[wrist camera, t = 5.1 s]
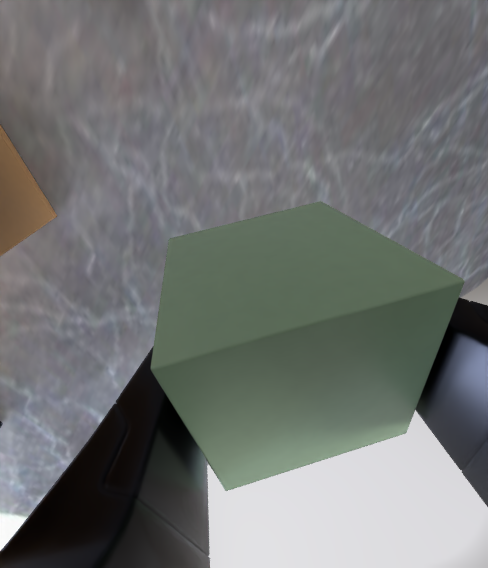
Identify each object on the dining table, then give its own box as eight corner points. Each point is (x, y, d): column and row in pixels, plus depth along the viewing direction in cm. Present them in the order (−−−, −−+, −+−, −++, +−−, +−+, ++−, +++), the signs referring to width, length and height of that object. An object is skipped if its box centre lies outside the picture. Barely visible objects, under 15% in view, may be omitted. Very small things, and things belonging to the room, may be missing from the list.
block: (321, 315, 11) (407, 433, 7) (209, 347, 10) (225, 492, 6) (321, 200, 8) (467, 280, 4) (168, 238, 8) (148, 369, 4)
